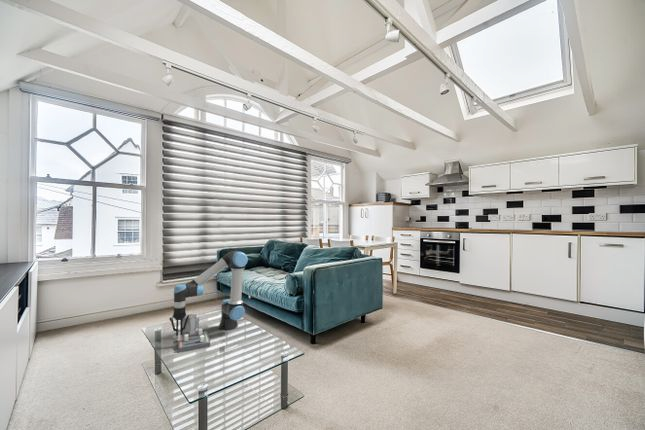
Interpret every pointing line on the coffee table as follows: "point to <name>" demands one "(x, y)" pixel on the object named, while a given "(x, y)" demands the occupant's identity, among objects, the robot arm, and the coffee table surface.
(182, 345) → the breaker board
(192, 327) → the circuit breaker
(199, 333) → the handle
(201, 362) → the coffee table surface
